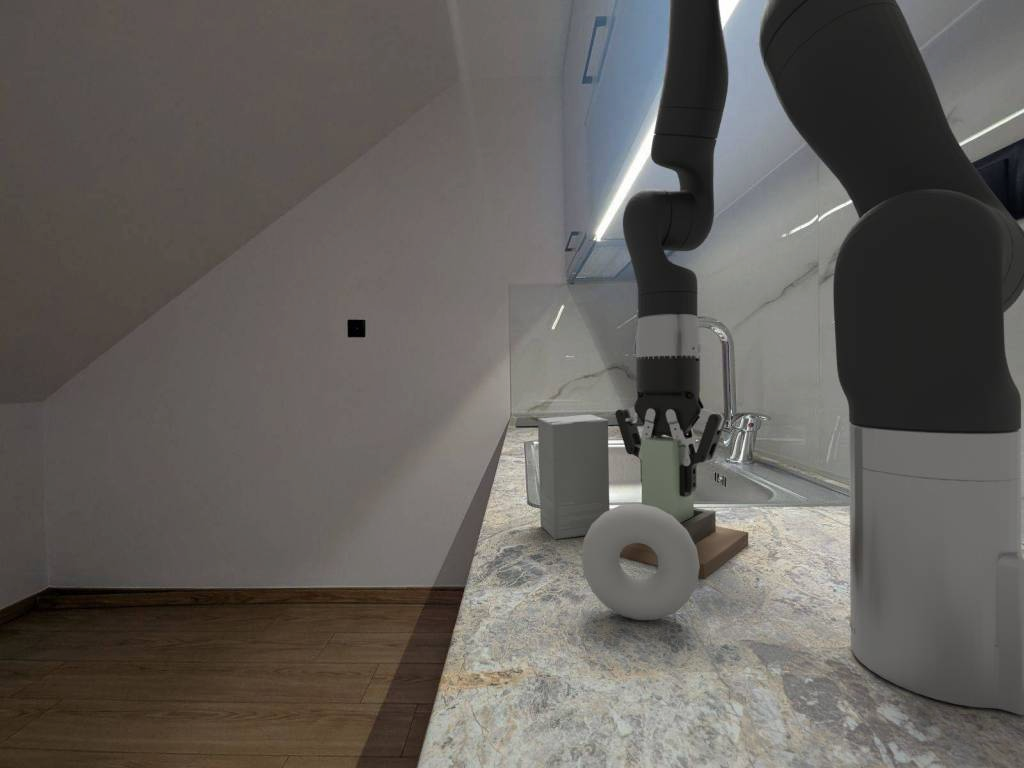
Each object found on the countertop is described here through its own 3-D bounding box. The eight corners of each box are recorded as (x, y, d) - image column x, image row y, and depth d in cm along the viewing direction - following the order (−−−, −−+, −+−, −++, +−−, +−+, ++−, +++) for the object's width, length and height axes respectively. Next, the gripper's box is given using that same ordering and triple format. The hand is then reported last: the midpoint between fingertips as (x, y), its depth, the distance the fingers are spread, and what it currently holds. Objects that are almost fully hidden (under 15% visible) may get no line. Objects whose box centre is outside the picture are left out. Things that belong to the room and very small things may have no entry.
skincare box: (591, 521, 72) (590, 413, 72) (613, 536, 65) (612, 417, 65) (536, 526, 70) (535, 415, 70) (553, 542, 63) (552, 419, 63)
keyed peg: (672, 527, 57) (672, 441, 57) (641, 520, 60) (641, 439, 60) (693, 515, 62) (693, 436, 62) (663, 510, 64) (663, 434, 64)
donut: (698, 615, 43) (697, 502, 43) (702, 635, 40) (701, 512, 40) (584, 603, 46) (583, 496, 46) (579, 620, 42) (578, 505, 42)
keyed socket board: (748, 544, 61) (748, 512, 61) (704, 578, 51) (704, 540, 51) (645, 522, 71) (645, 495, 71) (591, 548, 60) (590, 516, 60)
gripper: (601, 355, 63) (602, 489, 63) (714, 351, 53) (714, 509, 53) (630, 357, 68) (631, 479, 68) (737, 353, 58) (738, 496, 59)
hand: (667, 491), depth 61 cm, fingers closed on keyed peg, 4 cm apart
